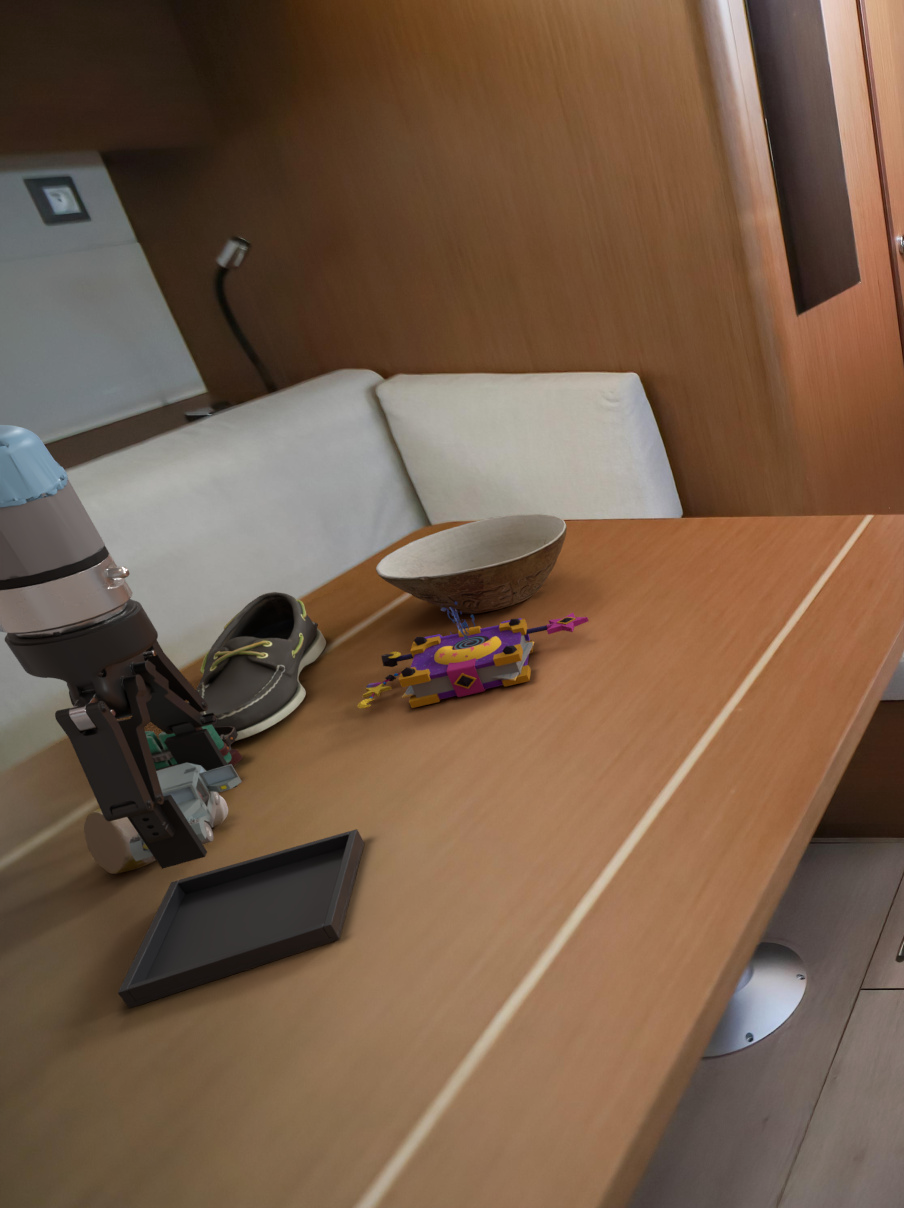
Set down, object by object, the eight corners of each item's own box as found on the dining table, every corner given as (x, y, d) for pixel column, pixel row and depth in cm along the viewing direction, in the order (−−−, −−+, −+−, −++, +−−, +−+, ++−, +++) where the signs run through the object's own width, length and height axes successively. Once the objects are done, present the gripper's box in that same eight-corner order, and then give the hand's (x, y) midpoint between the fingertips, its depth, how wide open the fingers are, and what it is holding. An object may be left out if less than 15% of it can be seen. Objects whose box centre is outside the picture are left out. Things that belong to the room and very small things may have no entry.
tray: (129, 1008, 84) (117, 993, 83) (181, 896, 95) (171, 881, 94) (339, 939, 91) (331, 924, 90) (364, 842, 102) (357, 828, 101)
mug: (261, 818, 105) (179, 787, 97) (171, 898, 100) (77, 873, 92) (218, 787, 107) (133, 754, 99) (128, 864, 102) (31, 837, 94)
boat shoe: (189, 763, 113) (152, 703, 109) (221, 659, 133) (190, 605, 129) (316, 728, 120) (285, 670, 116) (328, 634, 139) (302, 582, 136)
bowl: (393, 593, 150) (367, 536, 146) (568, 550, 165) (550, 497, 160) (406, 654, 135) (377, 592, 130) (598, 600, 149) (579, 543, 145)
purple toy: (380, 671, 131) (343, 593, 126) (593, 625, 143) (568, 552, 137) (358, 726, 120) (316, 644, 114) (591, 672, 131) (563, 595, 126)
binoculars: (214, 675, 113) (199, 707, 105) (253, 751, 117) (242, 786, 109) (103, 702, 107) (80, 737, 100) (149, 781, 111) (129, 820, 104)
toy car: (143, 872, 82) (114, 829, 80) (159, 811, 89) (133, 770, 87) (245, 839, 86) (220, 797, 84) (253, 783, 93) (230, 743, 91)
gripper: (84, 667, 71) (225, 885, 81) (177, 552, 88) (283, 744, 98) (-68, 698, 67) (99, 923, 77) (59, 571, 84) (182, 769, 94)
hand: (202, 823), depth 88 cm, fingers closed on toy car, 10 cm apart
